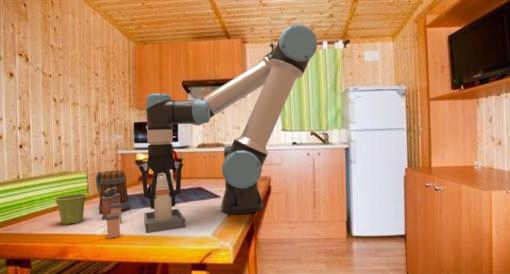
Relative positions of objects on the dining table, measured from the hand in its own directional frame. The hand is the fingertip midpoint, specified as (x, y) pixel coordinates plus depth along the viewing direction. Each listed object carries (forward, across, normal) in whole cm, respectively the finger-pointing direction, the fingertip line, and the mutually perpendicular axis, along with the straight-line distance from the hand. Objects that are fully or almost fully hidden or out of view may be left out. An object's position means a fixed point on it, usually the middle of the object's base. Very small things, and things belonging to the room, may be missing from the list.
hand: (163, 217), depth 97 cm
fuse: (0, 0, 0) cm, 0 cm away
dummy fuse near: (+2, +14, +6) cm, 15 cm away
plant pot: (+2, +28, -18) cm, 33 cm away
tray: (+2, 0, 0) cm, 2 cm away
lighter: (+2, +16, -19) cm, 25 cm away
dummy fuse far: (+2, +14, -10) cm, 17 cm away
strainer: (+2, -3, -28) cm, 28 cm away
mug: (+2, +17, -30) cm, 35 cm away
